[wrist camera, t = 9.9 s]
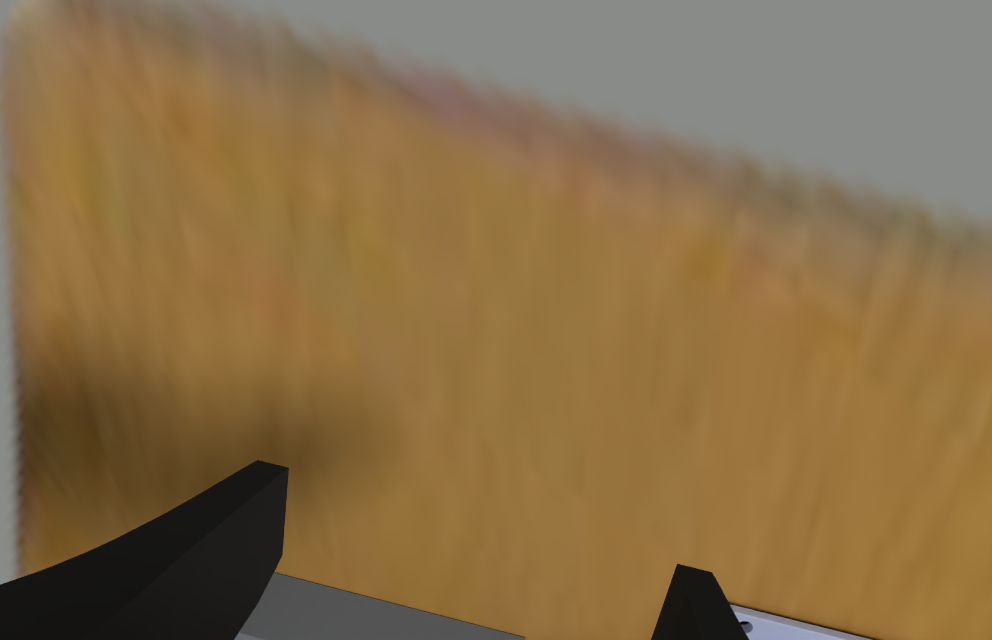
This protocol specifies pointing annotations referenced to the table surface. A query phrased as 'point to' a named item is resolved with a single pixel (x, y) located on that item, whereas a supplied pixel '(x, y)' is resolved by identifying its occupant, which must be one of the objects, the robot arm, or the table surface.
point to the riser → (347, 617)
